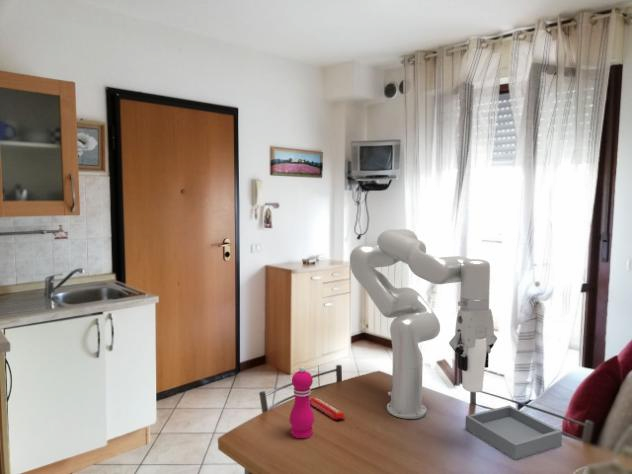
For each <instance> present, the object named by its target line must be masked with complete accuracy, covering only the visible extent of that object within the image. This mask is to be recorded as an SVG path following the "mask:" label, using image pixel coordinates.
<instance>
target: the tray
mask: <svg viewBox="0 0 632 474" xmlns="http://www.w3.org/2000/svg"><path fill="white" fill-rule="evenodd" d="M464 426H465V427H464V428H465V430H466V431H467V432H470V433H471V434H473V435H474V436H476V437H477V438H479V439H481V440H482V441H484V442H486V443H487V444H489V445H491V446H492V447H493V448H495V449H497V450H498V451H500V452H502V453H503V454H505V455H506V456H508V457H509V458H511V459H513V460H514V461H516V460H519V459H522V458H525V457H529V456H532V455H535V454H539V453H541V452H544V451H549V450H551V449H554V448H558V447H561V446H562V440H563V438H562V436H563V430H560V429H559V428H556V427H553V426H552V425H550V424H549V423H546V422H544V421H542V420H540V419H538V418H536V417H534V416H531V415H530V414H528V413H526V412H523V411H521V410H519V409H518V408H515V407H513V406H511V405H510V404H509V405H505V406H501V407H497V408H493V409H489V410H485V411H481V412H476V413H473V414H468V415H465V425H464Z"/></svg>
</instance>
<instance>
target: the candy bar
mask: <svg viewBox="0 0 632 474" xmlns="http://www.w3.org/2000/svg"><path fill="white" fill-rule="evenodd" d="M309 402H310V406H311V407H314V408H315V407H316V408H315V409H317V410H318V409H319V411H320V412H322V413H323V412H324V413H323V414H325V415H327V416H328V417H330V418H331V419H333V420H337V421H338V419H340V420H343V419H346V417H345V413H344V412H343V411H342V410H340V409H339V408H337V407H336V406H333V405H332V404H330V403H329V402H327V401H325V400H324V399H321V398H320V397H312V398H311V397H310V399H309Z"/></svg>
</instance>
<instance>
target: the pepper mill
mask: <svg viewBox="0 0 632 474" xmlns="http://www.w3.org/2000/svg"><path fill="white" fill-rule="evenodd" d="M291 385H292V386H293V395H294V403H293V406H292V409H291V411H290V414H289V423H290V425H291V428H290V434H292V435H293V436H294V437H296V438H295V439H297V438H306V439H309V438H311V437H312V436H313V425H314V423H315V415H314V410H313V408H312V405H311V404H310V394H311V393H312V392H311V390H312V389H311V387H312V385H313V376H312V374H311V373H310V372H308V371H306V367H305V366H300V367H299V370H298V371H296V372H294V374H293V375H292V378H291ZM292 435H291V436H292ZM311 435H312V436H311ZM293 436H292V437H293ZM294 437H293V438H294ZM308 437H309V438H308Z"/></svg>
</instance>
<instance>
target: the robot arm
mask: <svg viewBox="0 0 632 474" xmlns="http://www.w3.org/2000/svg"><path fill="white" fill-rule="evenodd" d="M376 240H377V241H376V243H367V244H361V245H357V246H355V247H354V248H353V249H352V250H351V252H350V255H349V266H350V270H351V273H352V274H353V276H354V278H355V280H356V281H357V282H358V283H359V284H360V286H361V287H362V288H363V289H364V290H365V292H366V293H367V294H368V296H369V297H370V300H372V303H373V304H374V305H375V306H376V308H377V310H378V311H379V312H380V314H381V315H382V316H383V317H385V318H389V319H391V318H394V319H393V320H392V322H391V323H390V326H389V333H390V340H391V346H392V347H391V348H392V378H391V379H392V380H391V382H392V385H391V388H392V389H391V391H388V392H387V395H388V397H390V401H389V402H388V403H387V405H386V410H387V412H388V413H389V414H390V415H392V416H394V417H397V418H399V419H405V420H416V419H417V420H418V419H421V418H423V417H425V416H426V414H427V407H426V406H425V405H424V404H423V401H422V399H423V367H424V366H423V365H424V364H423V362H424V361H423V360H424V359H423V354H422V352H421V350H420V347H419V344H420V343H423V342H429V341H431V340H434V339H436V338H437V336H439V334H440V332H441V324H440V321H439V319H438V317H437V315H436V314H435V313H434V311H433V310H432V308H431V307H430V306H429V305H428V304H427V302H426V301H425V299H424V298H423V297H422V295H421V294H420V293H419V292H418V291H417V290H415V289H414V288H411V287H395V286H393V284H392V283H391V282H390V280H389V279H388V278H387V277H386V275H384V274H383V273H382V272H380V271H379V270H377V269H376V268H385V267H390V266H393V265H395V264H398V262H402V263H403V264H405V265H407V266H408V268H409V269H410V271H411V272H412V273H413V274H414V275H416V277H419V278H421V279H422V280H425V281H426V282H428V283H432V284H435V285H446V284H452V283H453V284H454V283H455V284H456V283H460V295H459V296H460V297H459V301H457V305H458V307H459V308H458V311H457V315H456V319H455V331H454V332H455V334H454V335H453V337H452V339H451V340H450V341H449V342H448V343H449V344H448V345H449V346H450V347H451V348H452V350H453V351H454V352H455V354H456V355H457V368H458V369H459V370H461V371H462V370H463V371H467V365H468V357H466V354H467V351H468V348H473V347H475V342H476V339H485V338H486V345H487V351H486V361H485V369H488V368H489V354H491V352H492V350H491V349H492V348H493V347H494V346H495V344H496V342H497V340H498V337H497V336H496V335H495V332H494V331H495V327H494V316H493V311H492V308H491V309H490V283H491V282H490V281H491V276H490V275H491V265H490V262H489V261H487V260H485V259H479V258H478V259H477V258H474V259H473V258H467V257H464V256H459V255H458V256H455V255H454V256H441V257H437V256H433V255H431V254H428V253H427V246H426V245H425V244H426V243H424V242H423V241H422V240H419V238H418V236H417V234H415V233H414V231H412V230H410V229H404V228H403V229H386V230H384V231H382V232H381V233H380V234H379V235H378V237H377V239H376ZM462 343H463V344H462ZM462 346H463V347H464V348H463V351H462Z"/></svg>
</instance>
